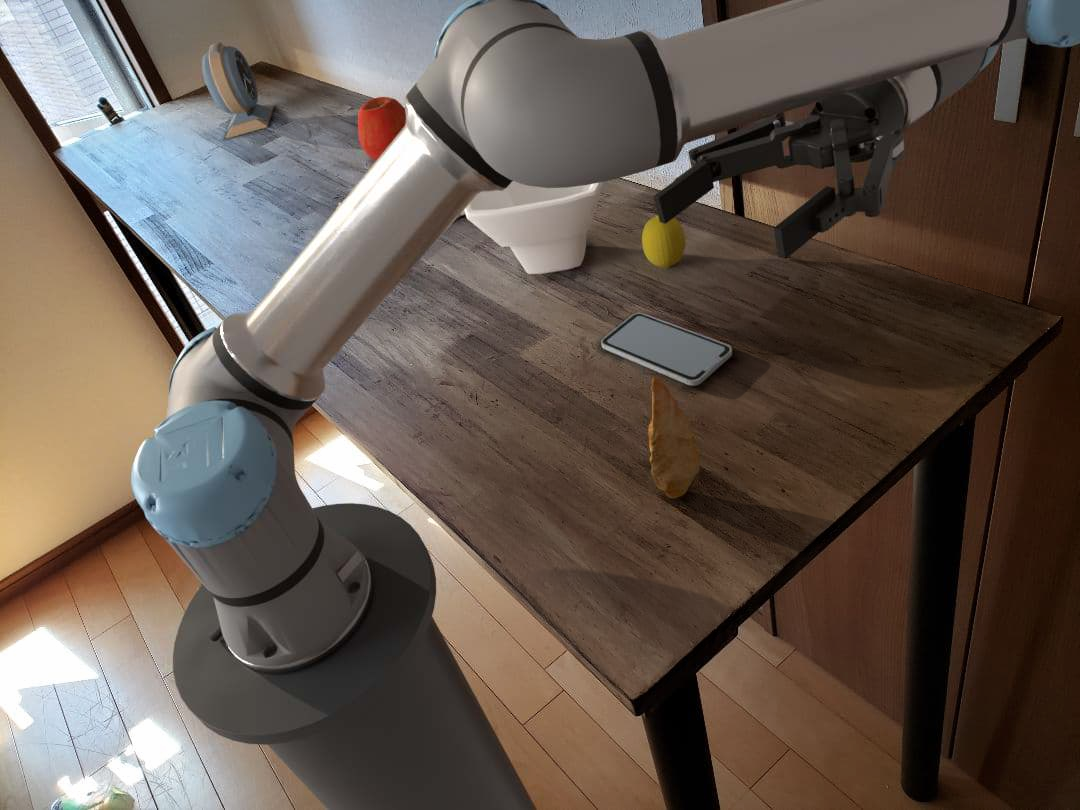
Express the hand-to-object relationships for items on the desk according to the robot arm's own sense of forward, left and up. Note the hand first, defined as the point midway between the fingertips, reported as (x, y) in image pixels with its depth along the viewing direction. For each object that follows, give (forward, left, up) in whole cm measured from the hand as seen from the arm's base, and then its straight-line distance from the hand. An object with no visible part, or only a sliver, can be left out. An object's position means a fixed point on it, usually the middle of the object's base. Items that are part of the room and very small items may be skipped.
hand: (714, 226), depth 71 cm
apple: (+20, +100, -25) cm, 105 cm away
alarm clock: (+12, +152, -25) cm, 155 cm away
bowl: (+12, +42, -25) cm, 50 cm away
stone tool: (-10, -1, -25) cm, 27 cm away
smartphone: (+6, +15, -25) cm, 30 cm away
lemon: (+19, +27, -25) cm, 41 cm away
